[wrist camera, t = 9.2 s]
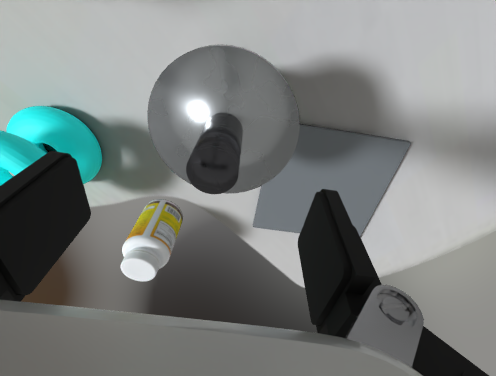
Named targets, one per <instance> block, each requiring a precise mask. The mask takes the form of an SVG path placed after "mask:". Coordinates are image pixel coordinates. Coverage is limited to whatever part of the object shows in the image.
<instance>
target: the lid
mask: <svg viewBox="0 0 496 376" xmlns="http://www.w3.org/2000/svg"><path fill="white" fill-rule="evenodd" d="M148 126H149V132H150V135H151V138H152V141H153V144H154V146H155V148H156V150H157V152H158V153H159V155H160V157H161V158H162V160H163V161H164V162H165V164H166V165H167V166H168V167H169V168H170V169H171V170H172V171H173V172H174V173H175V174H177V175H178V176H179V177H180V178H182V179H183V180H185V181H186V182H188V183H190V184H192V185H193V186H194V187H196V188H197V189H198V190H200V191H202V192H205V193H209V194H221V193H239V192H245V191H249V190H252V189H255V188H257V187H260V186H262V185H264V184H265V183H267V182H269V181H270V180H272V179H273V178H274V177H275V176H277V175H278V174H279V173H280V172H281V171H282V170H283V168H284V167H285V166H286V165H287V163H288V162H289V160H290V159H291V157H292V155H293V153H294V151H295V148H296V145H297V142H298V137H299V128H300V120H299V111H298V107H297V102H296V100H295V97H294V95H293V92H292V90H291V88H290V87H289V85H288V83H287V81H286V80H285V78H284V77H283V76H282V74H281V73H280V72H279V71H278V70H277V69H276V68H275V67H274V66H273V65H272V64H271V63H270V62H268V61H267V60H266V59H265V58H263V57H261V56H260V55H258V54H256V53H254V52H252V51H250V50H247V49H244V48H241V47H237V46H232V45H209V46H205V47H200V48H197V49H195V50H192V51H190V52H187V53H185V54H184V55H182V56H180V57H179V58H177V59H176V60H174V61H173V62H172V63H171V64H170V65H168V66H167V68H166V69H165V70H164V71H163V72H162V73H161V75H160V76H159V78H158V79H157V81H156V83H155V85H154V87H153V90H152V92H151V95H150V99H149V104H148Z"/></svg>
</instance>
